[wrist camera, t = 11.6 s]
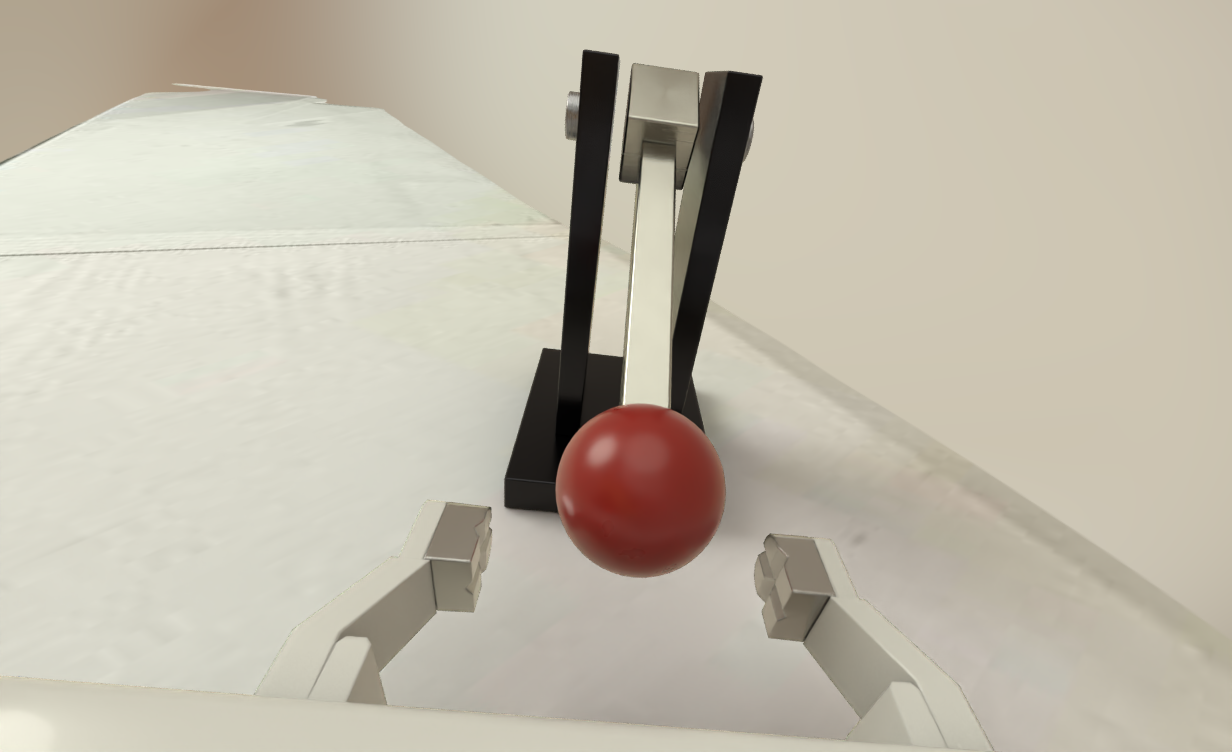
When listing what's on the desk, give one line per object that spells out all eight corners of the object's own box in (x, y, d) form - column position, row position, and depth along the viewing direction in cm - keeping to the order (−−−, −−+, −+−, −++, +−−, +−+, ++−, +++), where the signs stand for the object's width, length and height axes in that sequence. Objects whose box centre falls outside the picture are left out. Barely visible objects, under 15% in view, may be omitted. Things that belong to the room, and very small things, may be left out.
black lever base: (711, 527, 19) (857, 85, 11) (503, 507, 18) (505, 32, 11) (684, 387, 27) (756, 80, 20) (541, 371, 27) (557, 51, 19)
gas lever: (701, 591, 11) (756, 576, 8) (546, 577, 11) (540, 556, 8) (698, 154, 18) (726, 55, 15) (603, 141, 18) (612, 37, 15)
